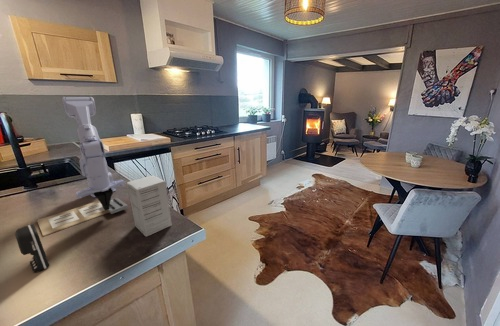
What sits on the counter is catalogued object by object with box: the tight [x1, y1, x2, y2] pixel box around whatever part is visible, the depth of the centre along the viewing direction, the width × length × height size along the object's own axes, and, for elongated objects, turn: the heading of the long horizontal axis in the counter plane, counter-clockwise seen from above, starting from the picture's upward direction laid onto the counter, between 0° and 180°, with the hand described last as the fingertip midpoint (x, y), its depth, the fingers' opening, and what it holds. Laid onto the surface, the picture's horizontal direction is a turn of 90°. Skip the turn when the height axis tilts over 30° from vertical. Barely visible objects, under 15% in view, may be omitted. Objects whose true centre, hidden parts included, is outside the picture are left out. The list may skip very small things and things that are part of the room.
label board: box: [36, 200, 111, 237], centre depth 82 cm, size 23×14×1 cm, turn 140°
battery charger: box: [15, 223, 50, 273], centre depth 56 cm, size 7×4×11 cm, turn 51°
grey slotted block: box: [107, 196, 129, 215], centre depth 86 cm, size 12×6×2 cm, turn 51°
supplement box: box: [126, 174, 173, 238], centre depth 72 cm, size 10×9×17 cm
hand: (106, 208), depth 80 cm, fingers closed
